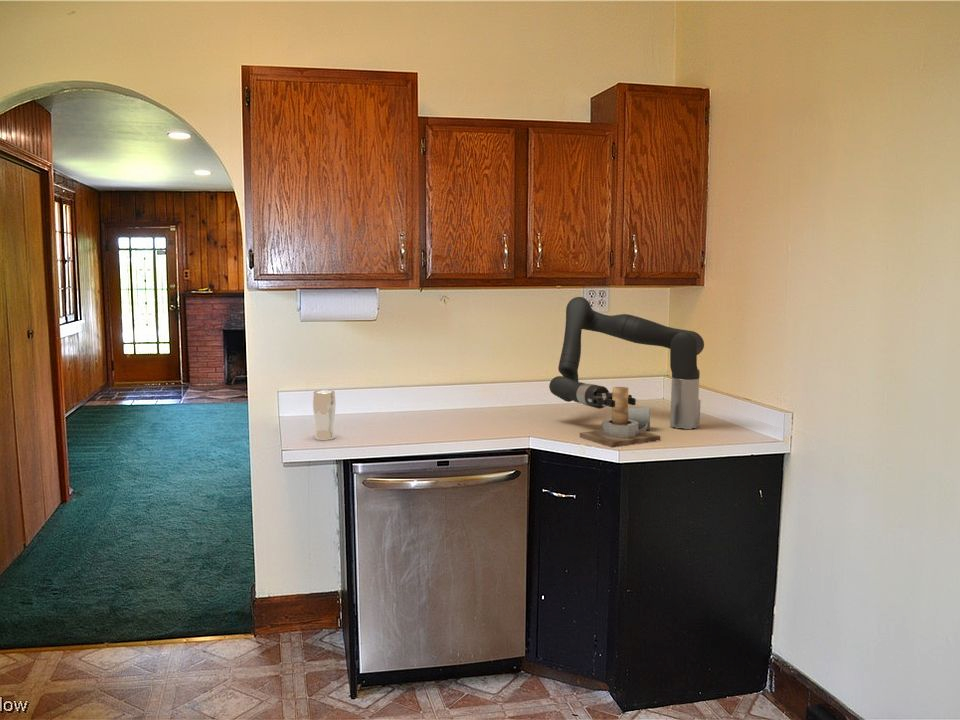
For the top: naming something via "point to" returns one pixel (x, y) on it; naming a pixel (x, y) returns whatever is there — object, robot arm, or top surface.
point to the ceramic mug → (640, 417)
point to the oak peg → (620, 405)
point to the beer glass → (324, 414)
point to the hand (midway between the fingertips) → (624, 403)
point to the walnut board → (613, 442)
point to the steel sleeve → (620, 429)
